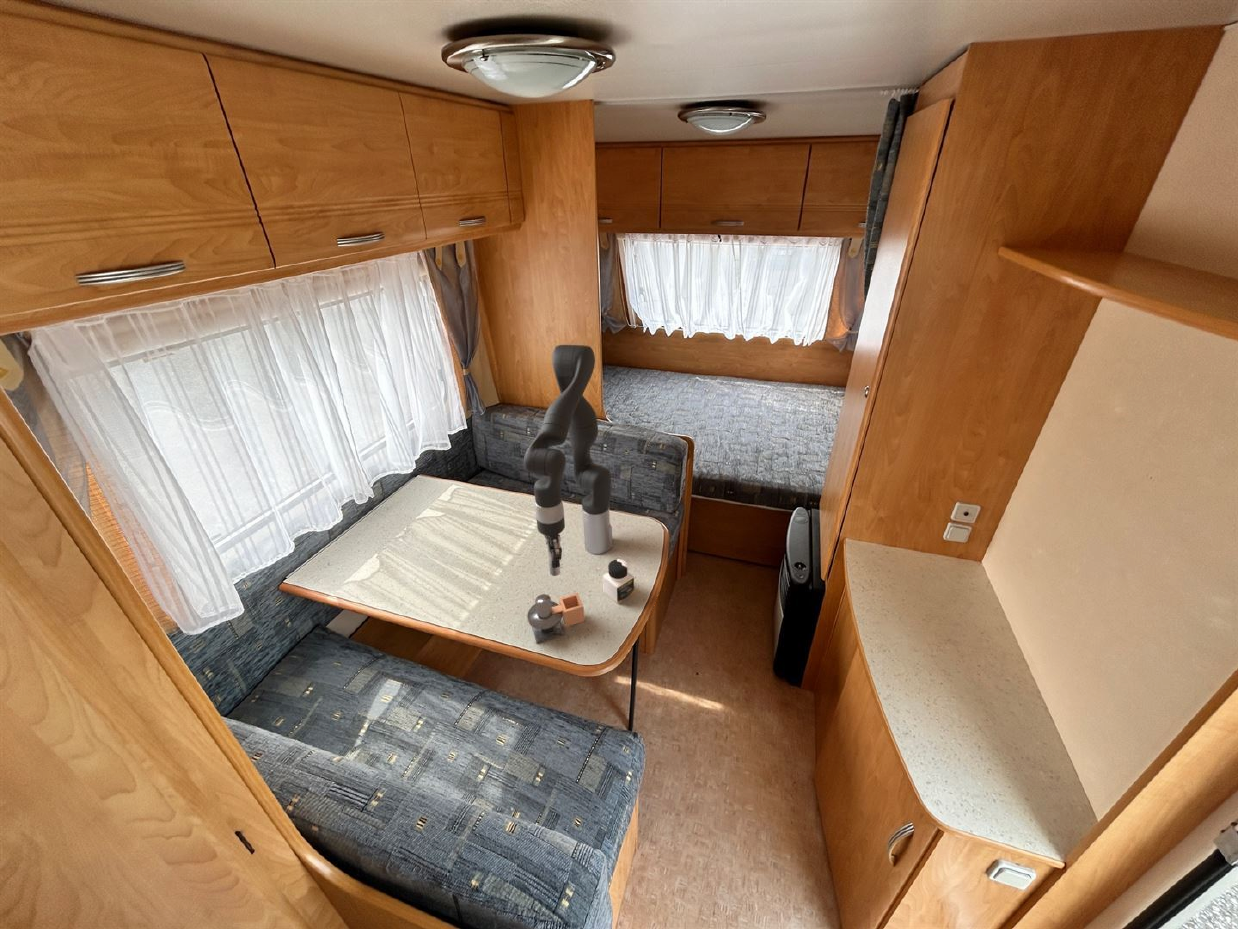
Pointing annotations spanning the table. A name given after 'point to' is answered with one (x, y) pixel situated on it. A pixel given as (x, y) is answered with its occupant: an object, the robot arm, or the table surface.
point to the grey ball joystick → (544, 619)
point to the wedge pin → (553, 570)
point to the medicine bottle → (618, 581)
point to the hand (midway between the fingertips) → (554, 562)
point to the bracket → (570, 609)
